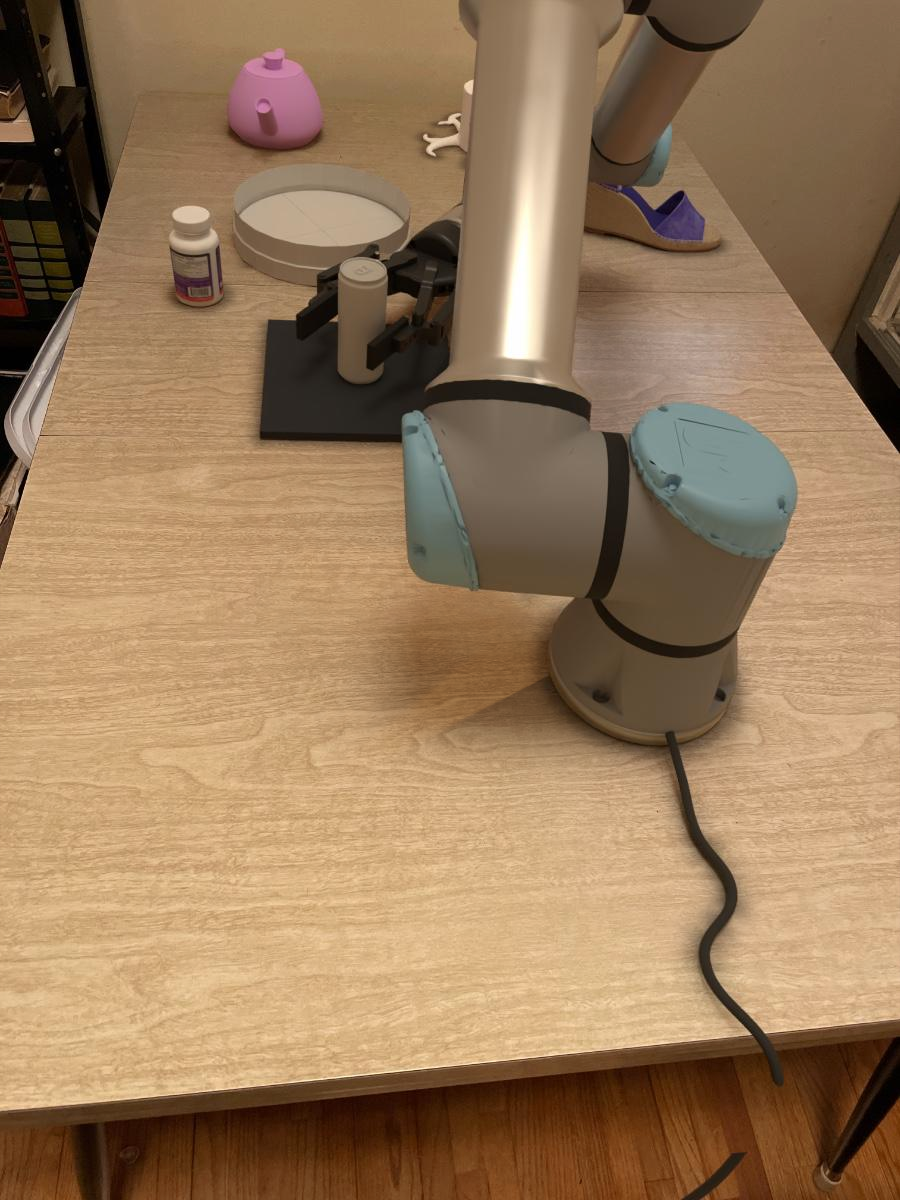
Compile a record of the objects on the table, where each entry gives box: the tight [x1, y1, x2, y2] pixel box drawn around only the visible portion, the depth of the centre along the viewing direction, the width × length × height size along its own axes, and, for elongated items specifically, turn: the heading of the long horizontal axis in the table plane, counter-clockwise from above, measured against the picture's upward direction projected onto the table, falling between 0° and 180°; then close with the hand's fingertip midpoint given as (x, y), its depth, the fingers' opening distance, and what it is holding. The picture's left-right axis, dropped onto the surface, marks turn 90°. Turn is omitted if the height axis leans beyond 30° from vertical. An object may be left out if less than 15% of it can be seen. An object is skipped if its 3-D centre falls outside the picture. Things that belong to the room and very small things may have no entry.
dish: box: [232, 163, 412, 287], centre depth 120 cm, size 22×22×5 cm
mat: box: [259, 318, 450, 443], centre depth 102 cm, size 20×20×1 cm
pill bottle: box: [168, 205, 224, 308], centre depth 107 cm, size 5×5×10 cm
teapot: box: [226, 47, 324, 150], centre depth 138 cm, size 14×20×11 cm
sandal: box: [584, 182, 723, 253], centre depth 126 cm, size 8×20×15 cm, turn 78°
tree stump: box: [422, 79, 474, 157], centre depth 143 cm, size 20×19×8 cm
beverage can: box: [337, 257, 388, 384], centre depth 97 cm, size 5×5×12 cm
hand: (334, 342), depth 94 cm, fingers open, 8 cm apart
